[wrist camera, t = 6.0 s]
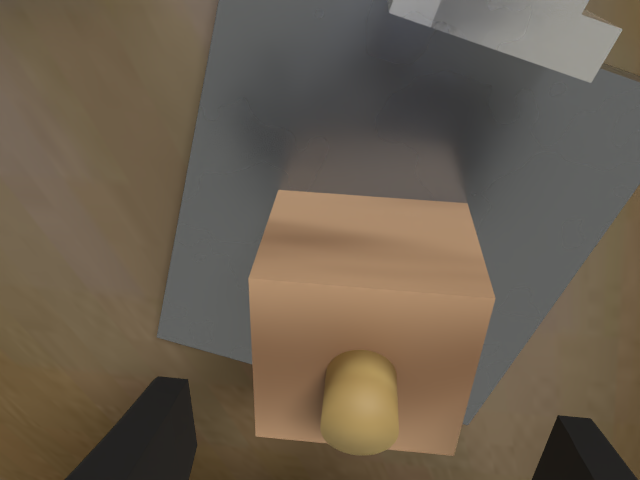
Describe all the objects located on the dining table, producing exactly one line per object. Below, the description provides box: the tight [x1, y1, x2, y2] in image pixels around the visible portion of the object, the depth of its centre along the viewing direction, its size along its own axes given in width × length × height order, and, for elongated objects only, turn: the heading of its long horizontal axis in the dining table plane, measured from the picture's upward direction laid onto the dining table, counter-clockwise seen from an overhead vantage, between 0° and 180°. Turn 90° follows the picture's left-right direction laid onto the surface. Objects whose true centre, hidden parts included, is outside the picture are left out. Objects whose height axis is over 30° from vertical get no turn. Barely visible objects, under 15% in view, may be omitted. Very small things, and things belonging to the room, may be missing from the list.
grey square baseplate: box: [157, 0, 640, 425], centre depth 15 cm, size 11×12×1 cm
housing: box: [248, 190, 496, 456], centre depth 13 cm, size 5×5×6 cm
